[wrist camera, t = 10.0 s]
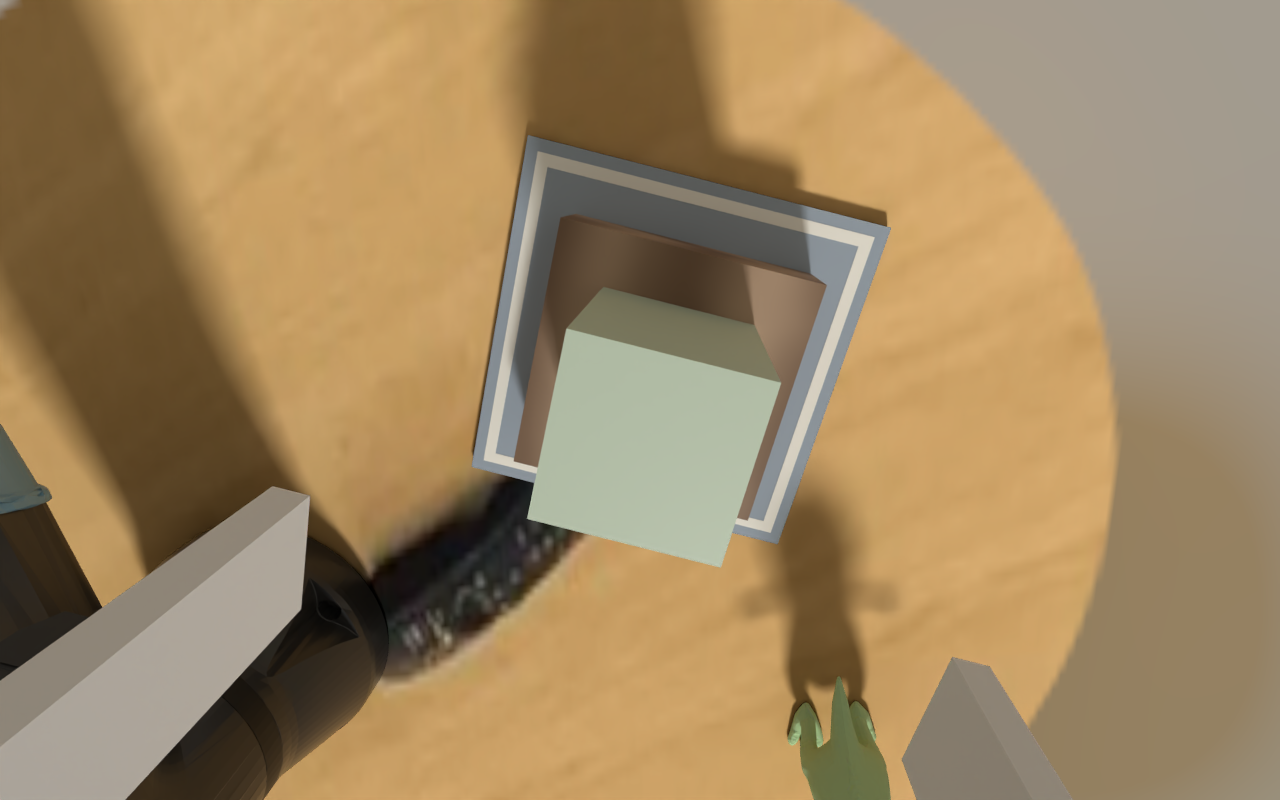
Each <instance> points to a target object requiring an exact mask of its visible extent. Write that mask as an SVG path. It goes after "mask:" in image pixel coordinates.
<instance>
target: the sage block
mask: <svg viewBox="0 0 1280 800" xmlns="http://www.w3.org/2000/svg"><path fill="white" fill-rule="evenodd" d="M780 385H781V381H780V379H779V377H778V375H777V373H776V370H775V368H774V366H773V364H772V362H771V360H770V357H769V355H768V353H767V351H766V349H765V347H764V344H763V342H762V340H761V338H760V336H759V334H758V331H757V329H756V327H755V325H752V324H748V323H744V322H740V321H736V320H732V319H728V318H724V317H721V316H717V315H713V314H709V313H705V312H701V311H697V310H693V309H689V308H685V307H681V306H677V305H673V304H669V303H665V302H661V301H657V300H653V299H649V298H646V297H642V296H638V295H634V294H630V293H626V292H622V291H618V290H614V289H610V288H606V287H603V288H602V289H601V290H600V291H599V292H598V293H597V294H596V296H595V297H594V298H593V299H592V300H591V301H590V302H589V304H588V305H587V306H586V307H585V308H584V309H583V310H582V311H581V313H580V314H579V315H578V316H577V317H576V318H575V319H574V320H573V322H572V323H571V324H570V325H569V326H568V327H567V328H566V333H565V338H564V343H563V347H562V352H561V357H560V362H559V367H558V372H557V377H556V381H555V386H554V391H553V396H552V401H551V406H550V411H549V416H548V420H547V425H546V430H545V435H544V440H543V445H542V450H541V454H540V459H539V464H538V469H537V474H536V479H535V484H534V488H533V493H532V498H531V503H530V508H529V513H528V518H527V519H530V520H534V521H538V522H542V523H546V524H550V525H554V526H558V527H562V528H566V529H570V530H574V531H578V532H582V533H586V534H589V535H593V536H597V537H601V538H605V539H609V540H613V541H617V542H621V543H625V544H629V545H633V546H637V547H641V548H645V549H649V550H653V551H657V552H661V553H665V554H669V555H673V556H677V557H681V558H685V559H689V560H693V561H697V562H701V563H705V564H709V565H713V566H717V567H721V565H722V562H723V559H724V556H725V553H726V550H727V547H728V544H729V541H730V538H731V535H732V532H733V528H734V525H735V522H736V519H737V516H738V513H739V510H740V507H741V504H742V501H743V498H744V495H745V492H746V489H747V486H748V483H749V480H750V477H751V474H752V471H753V468H754V464H755V461H756V458H757V455H758V452H759V449H760V446H761V443H762V440H763V437H764V434H765V431H766V428H767V425H768V422H769V419H770V416H771V413H772V410H773V407H774V404H775V401H776V397H777V394H778V391H779V388H780Z"/></svg>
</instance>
